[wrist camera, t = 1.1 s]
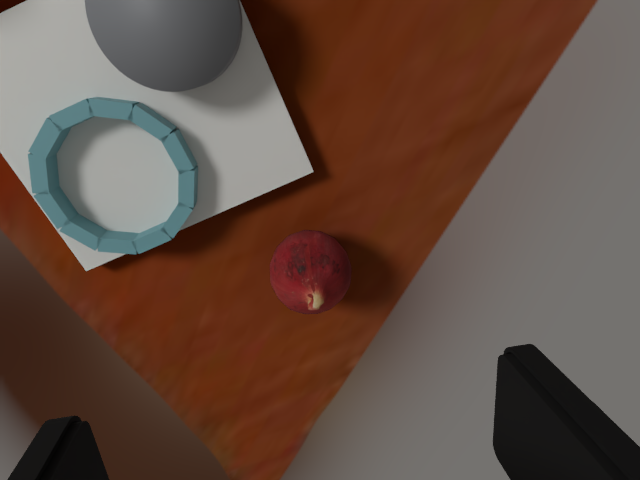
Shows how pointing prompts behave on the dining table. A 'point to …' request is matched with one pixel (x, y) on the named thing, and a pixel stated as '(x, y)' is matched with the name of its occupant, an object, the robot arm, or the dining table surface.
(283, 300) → the pomegranate
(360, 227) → the dining table surface
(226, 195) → the carrier plate
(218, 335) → the dining table surface
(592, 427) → the robot arm
